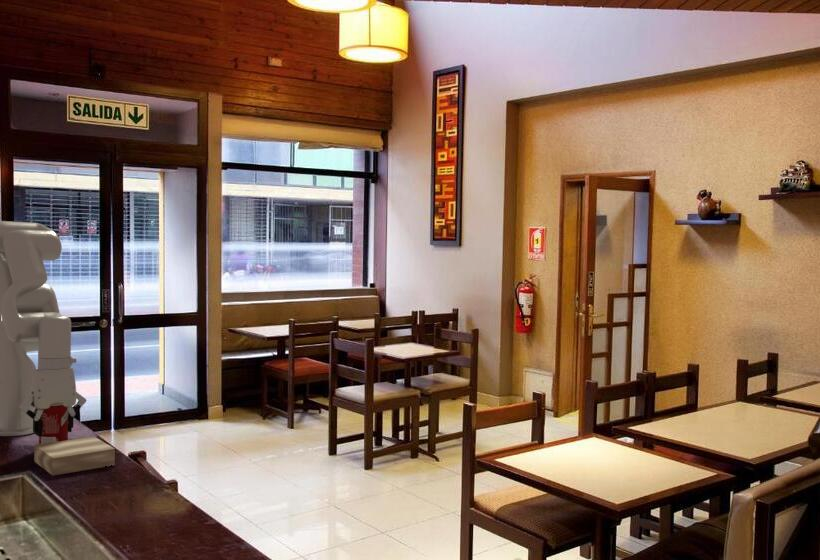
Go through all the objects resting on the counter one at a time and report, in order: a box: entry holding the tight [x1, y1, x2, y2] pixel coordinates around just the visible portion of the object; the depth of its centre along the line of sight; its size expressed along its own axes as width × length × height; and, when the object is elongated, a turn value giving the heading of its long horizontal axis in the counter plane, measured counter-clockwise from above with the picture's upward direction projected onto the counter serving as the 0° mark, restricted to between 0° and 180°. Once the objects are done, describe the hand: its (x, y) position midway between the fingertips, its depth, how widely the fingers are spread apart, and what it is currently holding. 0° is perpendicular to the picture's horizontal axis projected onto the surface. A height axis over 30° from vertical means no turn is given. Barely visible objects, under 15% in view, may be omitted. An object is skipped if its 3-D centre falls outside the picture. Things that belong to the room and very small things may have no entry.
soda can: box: [38, 403, 69, 444], centre depth 189 cm, size 7×7×12 cm
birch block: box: [33, 436, 116, 476], centre depth 177 cm, size 14×14×4 cm
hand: (53, 432), depth 189 cm, fingers closed on soda can, 6 cm apart
